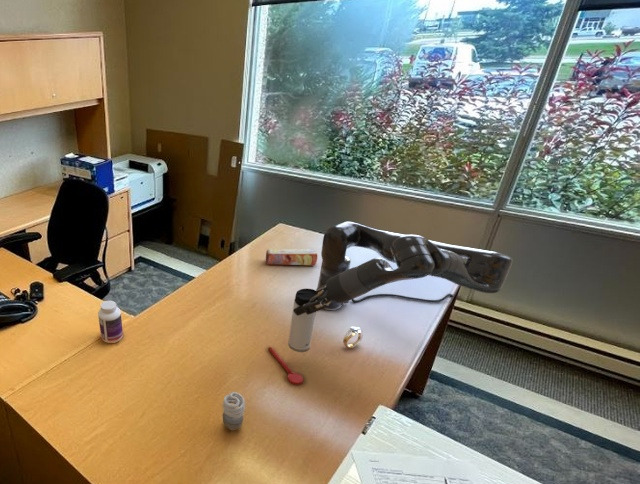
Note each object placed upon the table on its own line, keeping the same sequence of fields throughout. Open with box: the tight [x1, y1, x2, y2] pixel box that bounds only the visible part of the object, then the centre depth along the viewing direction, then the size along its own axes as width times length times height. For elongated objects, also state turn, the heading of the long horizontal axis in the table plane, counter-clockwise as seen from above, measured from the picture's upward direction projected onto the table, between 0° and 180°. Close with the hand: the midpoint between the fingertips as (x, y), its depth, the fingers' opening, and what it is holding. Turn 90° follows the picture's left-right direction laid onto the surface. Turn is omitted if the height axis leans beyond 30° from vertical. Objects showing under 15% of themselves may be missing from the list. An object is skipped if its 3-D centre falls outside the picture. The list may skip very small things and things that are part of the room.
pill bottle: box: [97, 300, 124, 344], centre depth 147 cm, size 8×8×14 cm
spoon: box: [268, 346, 304, 386], centre depth 132 cm, size 17×4×1 cm, turn 14°
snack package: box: [265, 249, 318, 267], centre depth 187 cm, size 21×7×7 cm, turn 79°
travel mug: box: [287, 288, 318, 353], centre depth 125 cm, size 6×7×20 cm
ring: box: [342, 326, 364, 349], centre depth 136 cm, size 7×3×8 cm, turn 104°
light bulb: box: [222, 391, 246, 431], centre depth 110 cm, size 6×6×12 cm
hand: (299, 306), depth 123 cm, fingers closed on travel mug, 6 cm apart
